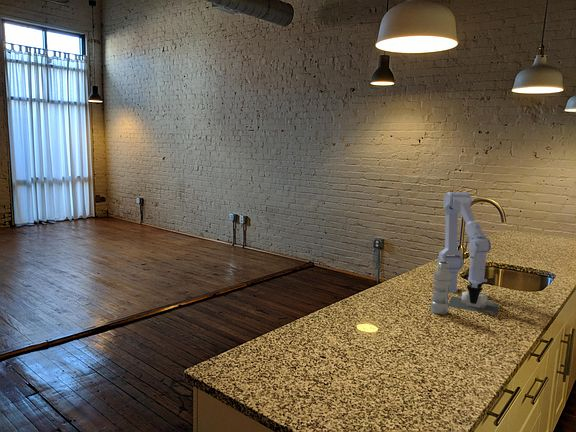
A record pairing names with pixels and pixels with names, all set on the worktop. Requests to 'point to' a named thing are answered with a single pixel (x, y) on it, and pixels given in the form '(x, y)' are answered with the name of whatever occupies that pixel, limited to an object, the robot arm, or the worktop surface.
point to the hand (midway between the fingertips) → (474, 300)
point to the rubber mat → (489, 308)
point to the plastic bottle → (441, 289)
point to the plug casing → (480, 302)
